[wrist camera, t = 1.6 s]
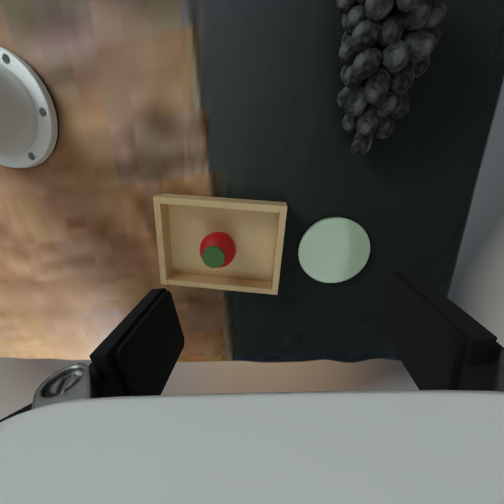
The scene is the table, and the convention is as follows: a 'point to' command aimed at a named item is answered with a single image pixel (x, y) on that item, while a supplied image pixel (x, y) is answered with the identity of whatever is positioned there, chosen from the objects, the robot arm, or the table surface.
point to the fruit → (383, 61)
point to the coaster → (333, 249)
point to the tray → (220, 220)
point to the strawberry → (217, 249)
